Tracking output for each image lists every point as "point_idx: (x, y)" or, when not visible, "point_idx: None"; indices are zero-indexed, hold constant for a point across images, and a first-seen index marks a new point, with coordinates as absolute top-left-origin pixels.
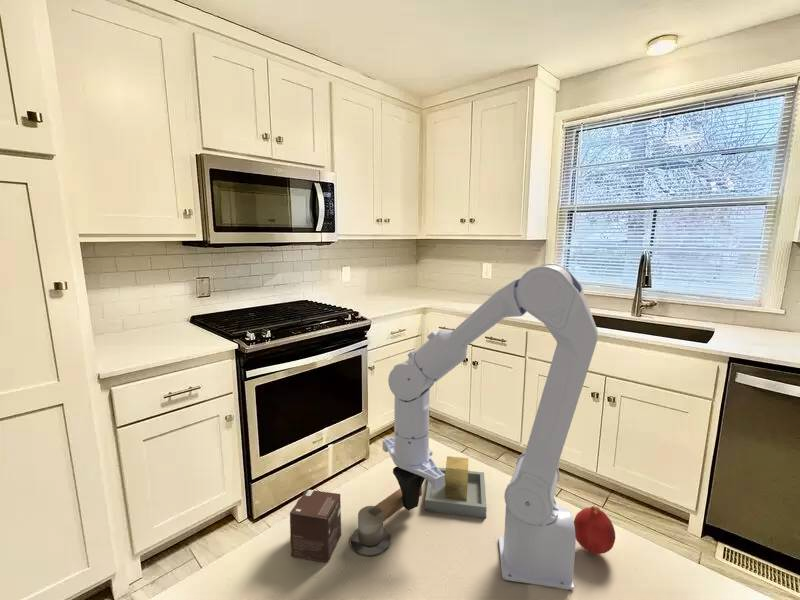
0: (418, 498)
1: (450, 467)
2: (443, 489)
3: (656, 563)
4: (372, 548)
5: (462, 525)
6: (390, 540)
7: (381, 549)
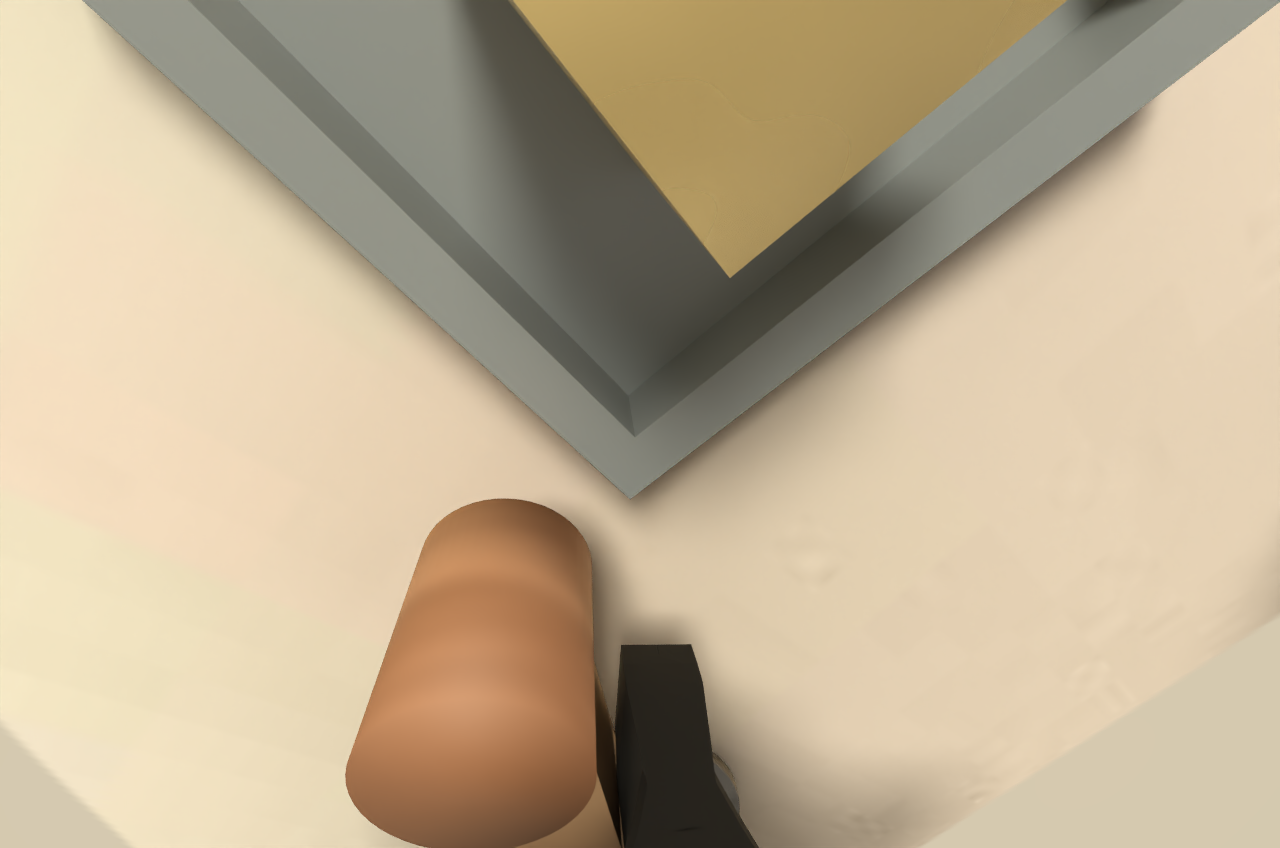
0: (703, 705)
1: (824, 148)
2: (495, 38)
3: None
4: None
5: (992, 305)
6: None
7: None
